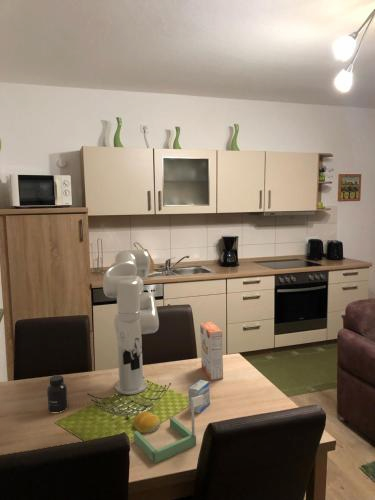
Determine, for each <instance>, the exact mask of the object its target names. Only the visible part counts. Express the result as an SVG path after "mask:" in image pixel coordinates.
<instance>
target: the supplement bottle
mask: <svg viewBox="0 0 375 500" xmlns="http://www.w3.org/2000/svg"><path fill="white" fill-rule="evenodd" d="M48 382H49V385H48V386H47V388H46V397H47V411H48V410H49V411H50V412H60V411H63V410H65V409H66V408H68V405H69V404H68V388H67V384H66V383H65V382H64V375H61V374H58V375H57V374H56V375H53V376H51V377H50V378H49V381H48ZM66 410H67V409H66ZM66 410H65V411H66ZM49 411H48V412H49ZM50 412H49V413H50ZM63 412H64V411H63Z"/></svg>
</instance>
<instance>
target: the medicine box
mask: <svg viewBox="0 0 375 500" xmlns="http://www.w3.org/2000/svg"><path fill="white" fill-rule="evenodd" d="M187 390H188V393H187V394H188V410H189V412H191V398H192V397H193V398H195V397H198V396H200V395H203V404H201V405H199V406H196V407H194V413H196V414H201V413H202V412H203V411H204V410H205V409H206V408H207V407H209V405H210V404H211V396H210V394H211V393H210V382H209V381H208V380H203V379H198V380H197V381H196V382H195V383H194V384H192V385H191V386H189V387H188V389H187Z"/></svg>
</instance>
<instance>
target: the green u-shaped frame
mask: <svg viewBox="0 0 375 500" xmlns="http://www.w3.org/2000/svg"><path fill="white" fill-rule="evenodd" d="M201 404H203V395H200V396H198V397H195V398H193V397H192V398H191V411H190V413H191V430H190V429H188V428H187V427H186V426H185V425H184V424H183V423H181V422H180V421H179V420H178V419H176V418H175V417H174V416H172V417H169V427H170V428H172V430H174V432H176V433H177V434H178V435H179V436H180V437H182V438H181V439H179V440H176V441H174V442H172V443H169V444H167V445H165V446H162V447H160V448H158V449H156V448H155V446H153V445H152V444H151V443H150V442H149V441H148V440H147V439H146V438H145V437H144V436H143V435H142V433H141V432H140V431H139V430H135V431H133V440H134V441H133V442H135V444H136V445H137V446H138V447H139V448H140V449H141V450H142V451H143V453H145V454H146V456H147V457H148V458H149V459H150V460H151V462H153V463H154V464H157V463H160V462H162V461H164V460H167V459H168V458H170V457H173V456H175V455H177V454H179V453H182V452H185V451H186V450H188V449H191V448H193V447H194V446H197V436H196V434H195V412H194V407H196V406H199V405H201Z"/></svg>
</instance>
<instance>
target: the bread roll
mask: <svg viewBox="0 0 375 500" xmlns="http://www.w3.org/2000/svg"><path fill="white" fill-rule="evenodd" d="M132 424H133V427H134V429H137V431H138V432H139V433H141V434H147V433H154V432H156V431H157V430H158V429H159V427H161V420H160V418H159V417H158V416H156V415H155V414H153V413H152V412H150V411H143V412H140V413H139V414H137V415H136V416H135V417H134V419H133V422H132Z"/></svg>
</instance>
